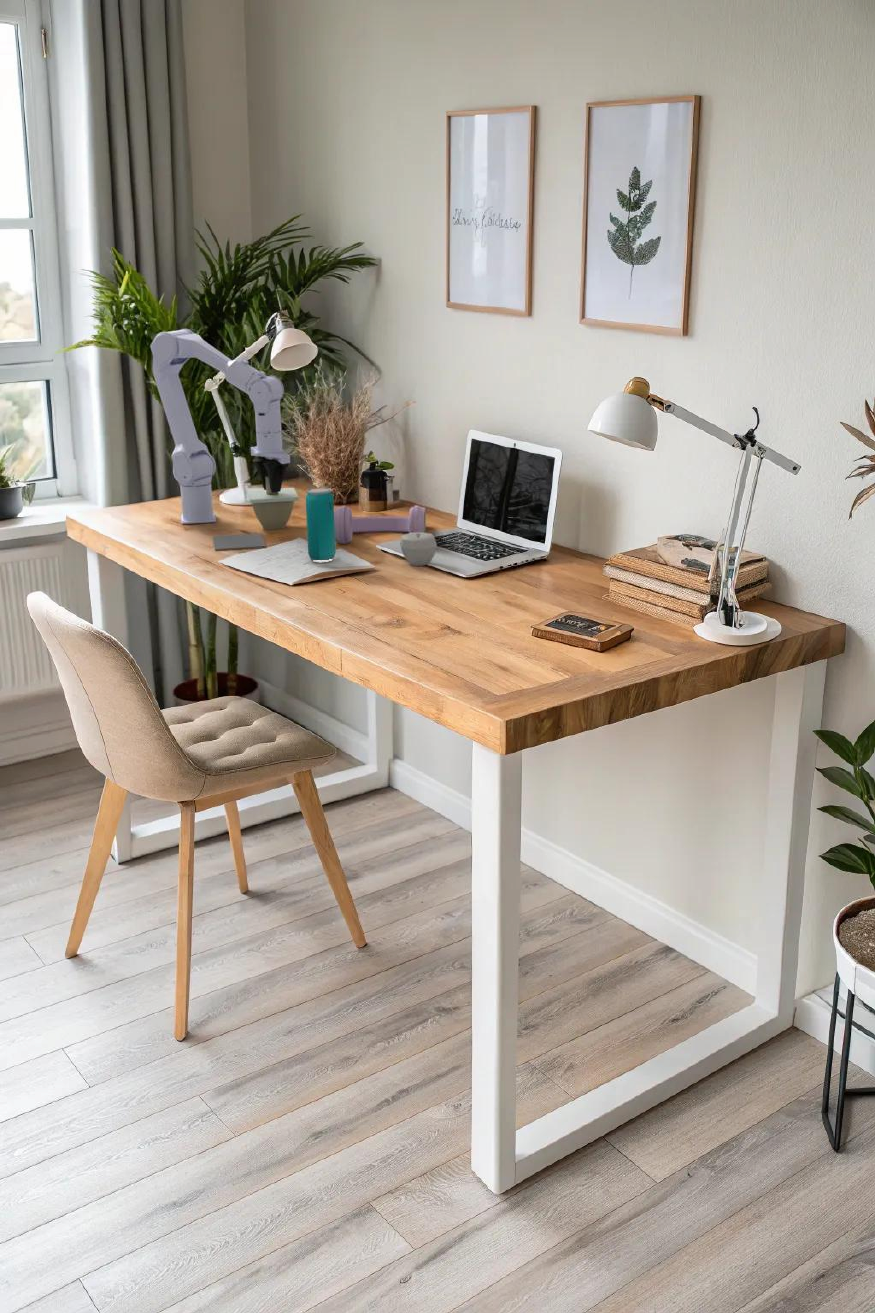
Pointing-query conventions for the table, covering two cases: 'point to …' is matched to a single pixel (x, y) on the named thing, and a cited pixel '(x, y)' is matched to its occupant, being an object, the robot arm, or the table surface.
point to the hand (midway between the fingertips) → (272, 490)
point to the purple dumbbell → (376, 523)
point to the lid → (272, 494)
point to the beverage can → (320, 523)
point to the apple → (418, 548)
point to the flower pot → (273, 513)
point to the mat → (239, 542)
